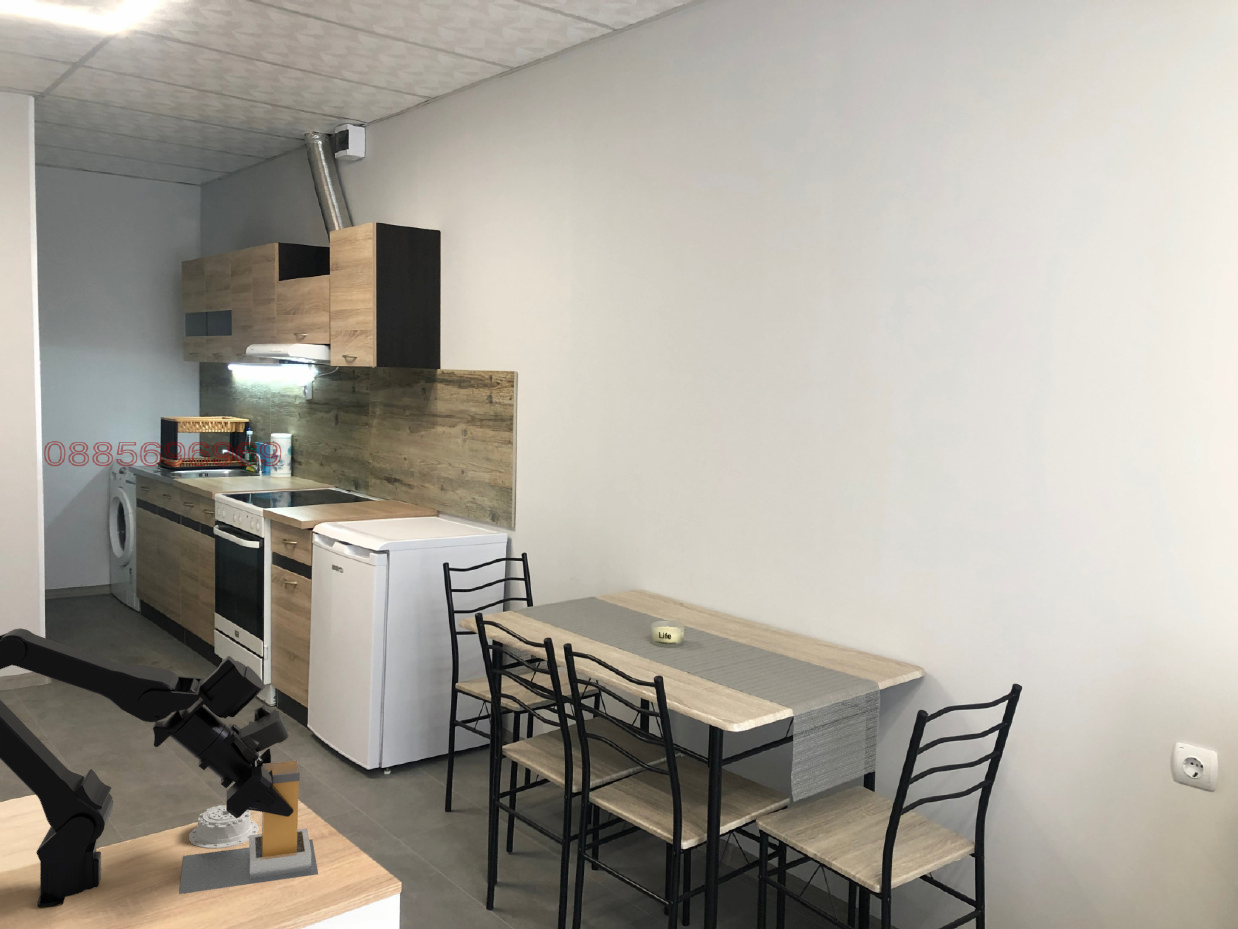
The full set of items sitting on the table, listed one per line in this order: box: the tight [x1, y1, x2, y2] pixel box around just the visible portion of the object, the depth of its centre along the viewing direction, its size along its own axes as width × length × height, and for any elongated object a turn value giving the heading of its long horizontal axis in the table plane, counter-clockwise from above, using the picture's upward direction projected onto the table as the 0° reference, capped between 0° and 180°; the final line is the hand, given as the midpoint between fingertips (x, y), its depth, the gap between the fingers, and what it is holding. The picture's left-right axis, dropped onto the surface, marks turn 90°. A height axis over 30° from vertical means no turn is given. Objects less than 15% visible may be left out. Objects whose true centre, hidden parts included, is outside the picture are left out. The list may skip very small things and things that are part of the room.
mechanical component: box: [188, 804, 260, 849], centre depth 146 cm, size 10×4×10 cm
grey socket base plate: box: [179, 827, 319, 895], centre depth 136 cm, size 18×11×4 cm, turn 112°
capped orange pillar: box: [261, 759, 301, 857], centre depth 137 cm, size 5×5×12 cm
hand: (290, 806), depth 138 cm, fingers closed on capped orange pillar, 4 cm apart
